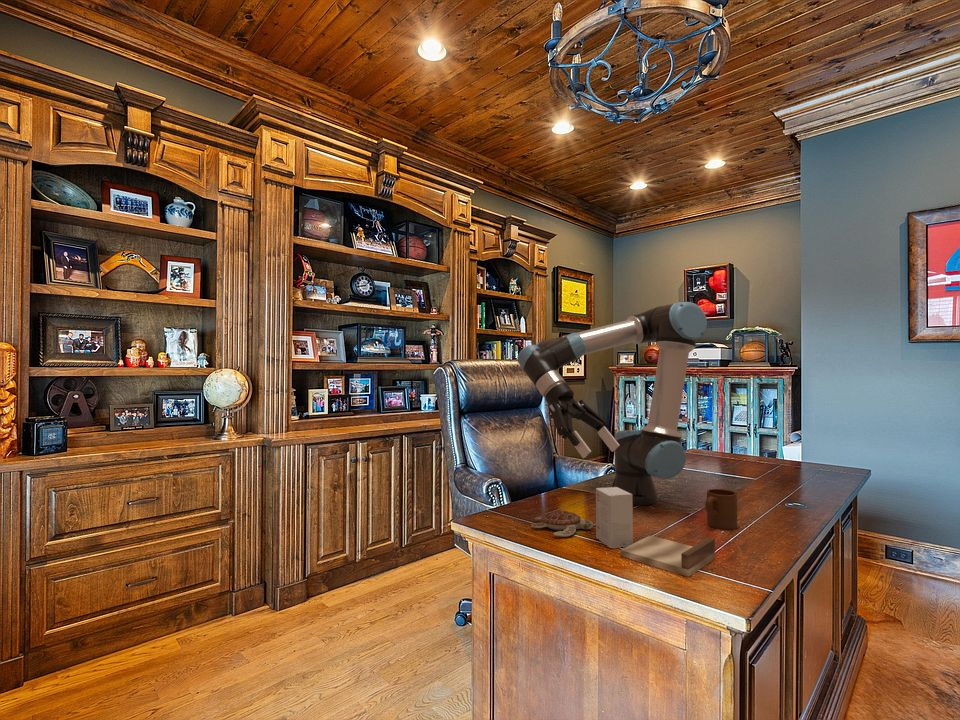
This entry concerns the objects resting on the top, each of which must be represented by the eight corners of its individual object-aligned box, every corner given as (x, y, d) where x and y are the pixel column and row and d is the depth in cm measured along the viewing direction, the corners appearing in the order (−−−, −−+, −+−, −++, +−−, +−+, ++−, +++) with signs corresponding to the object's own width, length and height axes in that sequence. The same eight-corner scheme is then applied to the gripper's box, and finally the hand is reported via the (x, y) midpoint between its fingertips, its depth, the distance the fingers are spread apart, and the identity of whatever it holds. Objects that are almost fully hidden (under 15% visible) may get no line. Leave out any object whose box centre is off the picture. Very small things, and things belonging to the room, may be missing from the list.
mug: (721, 536, 130) (721, 500, 130) (693, 528, 136) (693, 494, 136) (742, 526, 137) (742, 492, 137) (715, 520, 143) (714, 487, 143)
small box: (633, 547, 123) (633, 494, 123) (610, 549, 121) (609, 495, 121) (617, 536, 131) (617, 486, 131) (595, 538, 129) (594, 487, 129)
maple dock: (620, 556, 117) (620, 537, 117) (649, 541, 126) (649, 523, 126) (688, 576, 105) (688, 555, 105) (714, 558, 115) (714, 539, 115)
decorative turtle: (591, 543, 126) (591, 524, 126) (526, 537, 131) (526, 518, 131) (595, 521, 144) (595, 504, 144) (538, 517, 149) (538, 500, 149)
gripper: (573, 397, 149) (617, 454, 139) (518, 401, 132) (564, 467, 121) (588, 380, 146) (635, 437, 135) (534, 382, 128) (583, 447, 117)
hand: (602, 451), depth 128 cm, fingers open, 13 cm apart
